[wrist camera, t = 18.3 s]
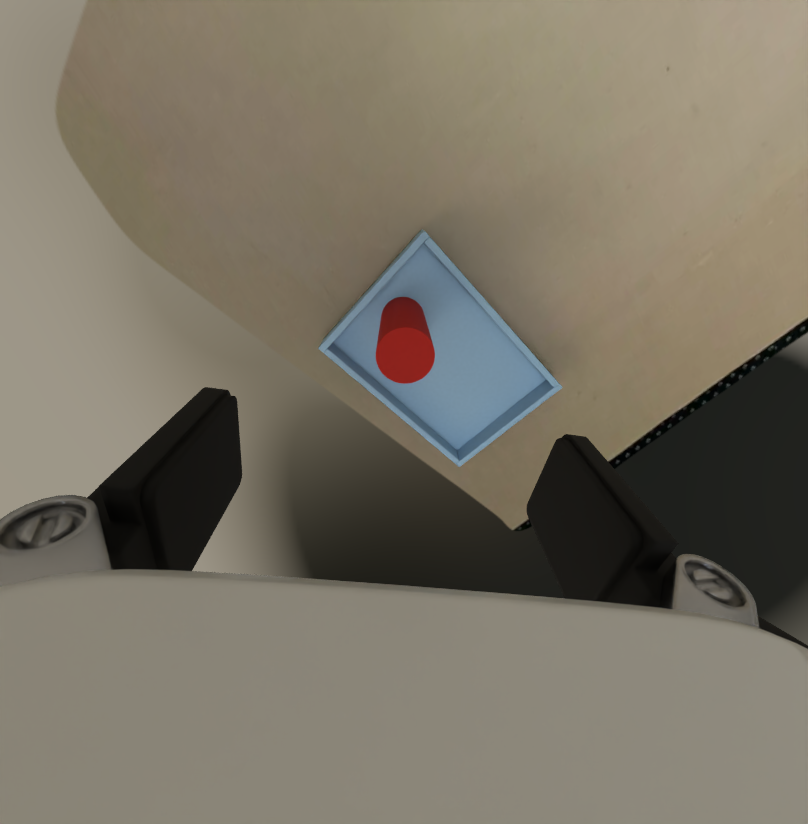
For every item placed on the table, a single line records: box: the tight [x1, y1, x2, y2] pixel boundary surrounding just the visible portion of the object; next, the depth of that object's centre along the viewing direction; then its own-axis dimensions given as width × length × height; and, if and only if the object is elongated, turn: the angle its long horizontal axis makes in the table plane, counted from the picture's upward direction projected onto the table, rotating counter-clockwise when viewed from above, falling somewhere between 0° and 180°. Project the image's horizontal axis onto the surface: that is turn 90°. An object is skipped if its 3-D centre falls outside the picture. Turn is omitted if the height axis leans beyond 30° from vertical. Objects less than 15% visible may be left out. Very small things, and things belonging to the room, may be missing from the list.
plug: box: [376, 297, 435, 384], centre depth 28 cm, size 4×4×10 cm
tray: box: [318, 230, 562, 467], centre depth 34 cm, size 19×13×3 cm
